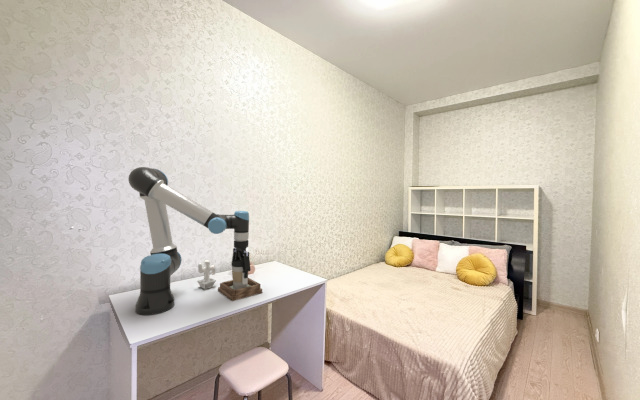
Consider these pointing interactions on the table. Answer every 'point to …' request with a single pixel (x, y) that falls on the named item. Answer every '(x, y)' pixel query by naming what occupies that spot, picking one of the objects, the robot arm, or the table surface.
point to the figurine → (206, 275)
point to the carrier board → (239, 290)
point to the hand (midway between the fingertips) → (240, 281)
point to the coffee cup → (237, 275)
